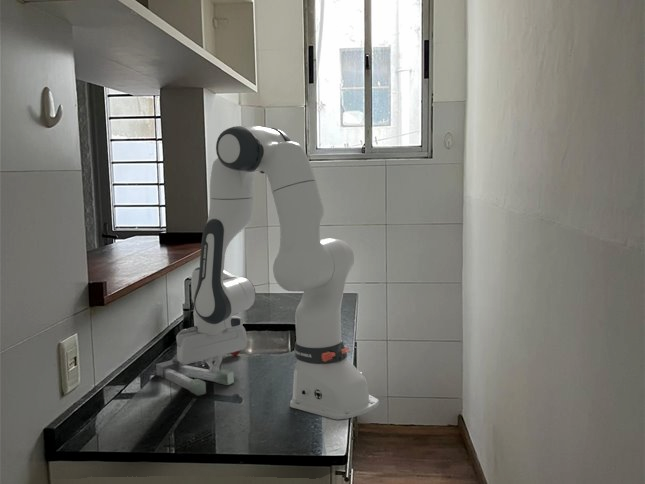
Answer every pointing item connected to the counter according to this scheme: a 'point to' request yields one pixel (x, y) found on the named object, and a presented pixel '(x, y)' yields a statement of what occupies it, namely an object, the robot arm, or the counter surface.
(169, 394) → the counter surface
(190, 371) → the tong arm
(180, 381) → the tong base
